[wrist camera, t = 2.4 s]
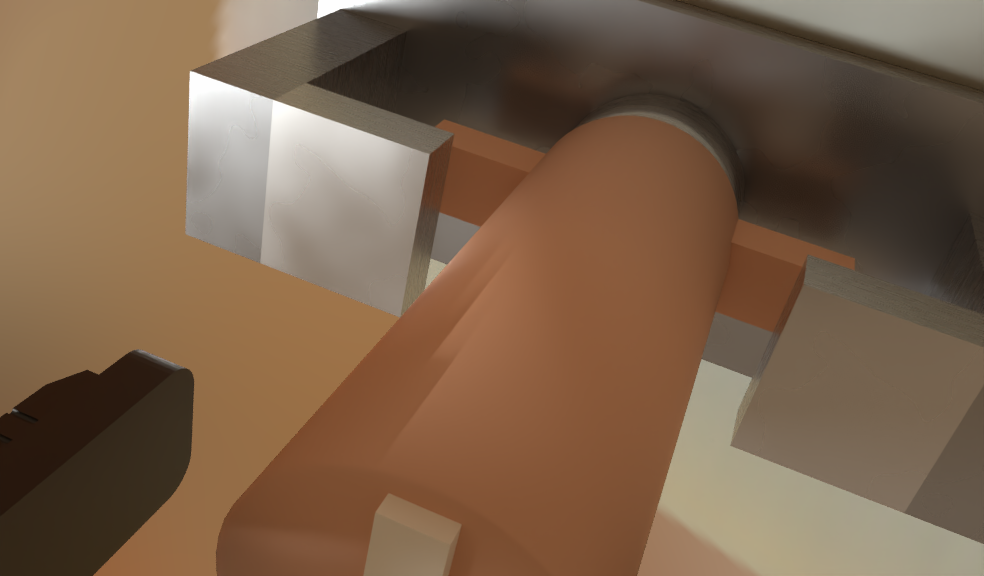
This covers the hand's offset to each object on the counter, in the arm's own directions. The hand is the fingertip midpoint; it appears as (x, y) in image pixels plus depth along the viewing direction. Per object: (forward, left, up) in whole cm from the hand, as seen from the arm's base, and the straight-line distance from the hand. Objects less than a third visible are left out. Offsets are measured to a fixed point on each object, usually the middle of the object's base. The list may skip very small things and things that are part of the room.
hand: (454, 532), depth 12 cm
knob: (0, 0, -10) cm, 10 cm away
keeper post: (0, 0, -13) cm, 13 cm away
